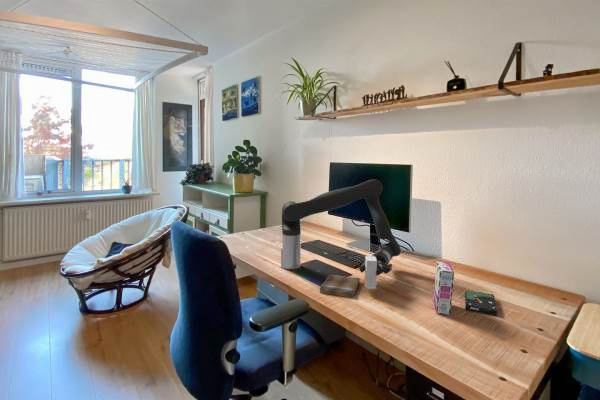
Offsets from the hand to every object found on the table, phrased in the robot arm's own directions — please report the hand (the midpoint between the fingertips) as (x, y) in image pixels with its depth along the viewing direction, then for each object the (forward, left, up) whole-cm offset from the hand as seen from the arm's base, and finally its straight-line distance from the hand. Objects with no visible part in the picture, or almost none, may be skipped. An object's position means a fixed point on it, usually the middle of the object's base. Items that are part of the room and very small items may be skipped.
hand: (369, 271), depth 132 cm
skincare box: (0, +2, -7) cm, 8 cm away
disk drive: (+42, +5, -11) cm, 43 cm away
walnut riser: (-12, +4, -10) cm, 16 cm away
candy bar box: (+28, -2, -10) cm, 30 cm away
